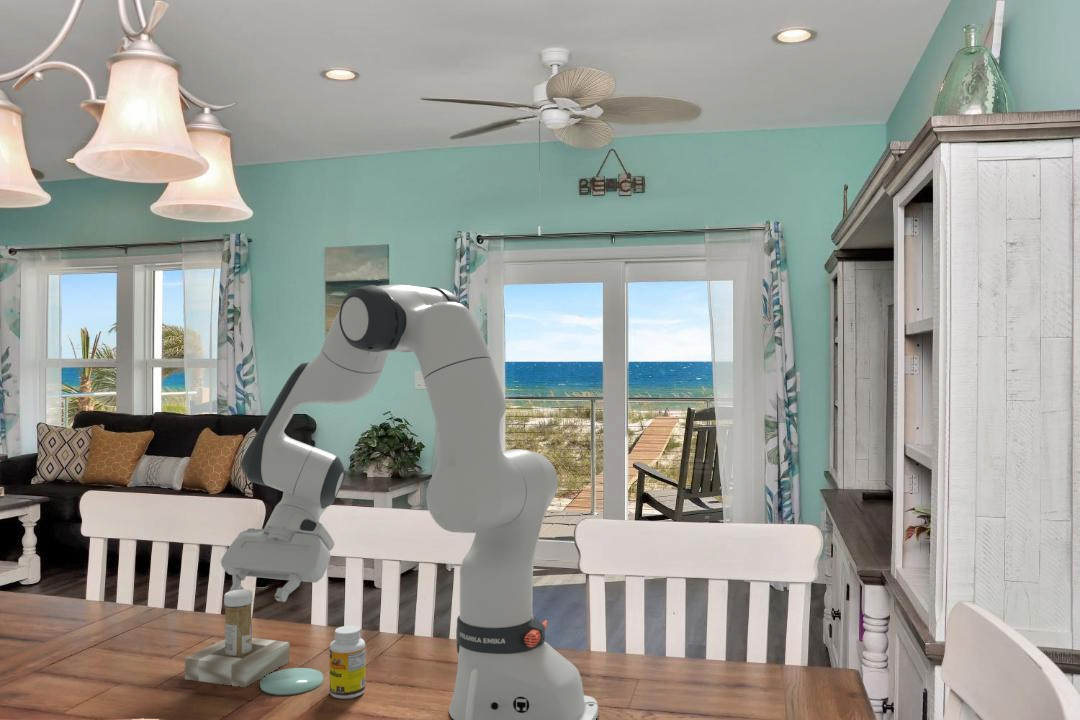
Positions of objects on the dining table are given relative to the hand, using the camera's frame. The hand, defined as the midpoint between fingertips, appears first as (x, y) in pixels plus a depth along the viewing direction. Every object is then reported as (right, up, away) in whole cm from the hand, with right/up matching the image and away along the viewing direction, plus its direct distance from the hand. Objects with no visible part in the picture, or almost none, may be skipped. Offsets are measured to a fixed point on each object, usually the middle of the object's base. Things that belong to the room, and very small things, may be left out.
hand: (256, 597), depth 147 cm
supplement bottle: (+19, -11, -15) cm, 27 cm away
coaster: (+9, -11, -10) cm, 18 cm away
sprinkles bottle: (-2, -11, -5) cm, 12 cm away
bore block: (-2, -11, -5) cm, 12 cm away
